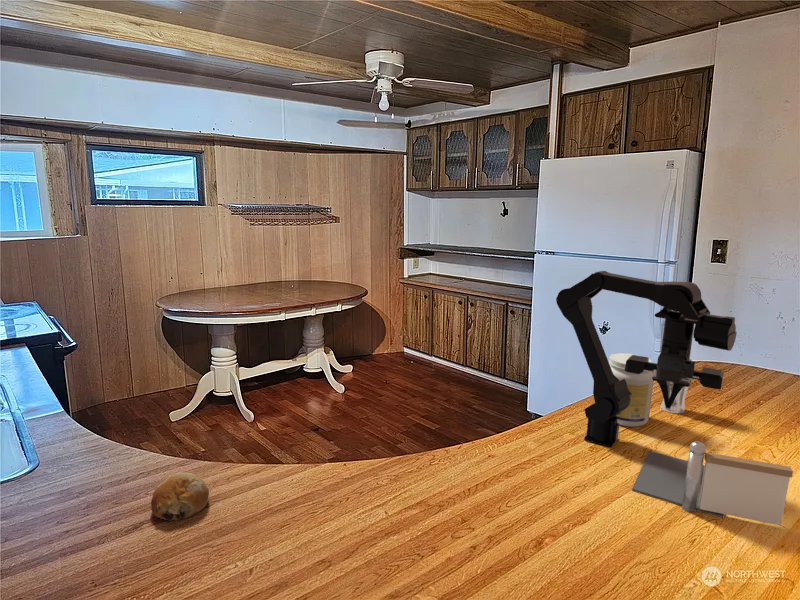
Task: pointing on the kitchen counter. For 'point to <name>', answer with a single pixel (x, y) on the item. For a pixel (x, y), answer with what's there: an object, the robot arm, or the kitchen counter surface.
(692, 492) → the gate post
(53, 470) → the kitchen counter surface
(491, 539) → the kitchen counter surface
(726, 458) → the panel
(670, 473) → the mat
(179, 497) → the bread roll
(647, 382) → the supplement tub
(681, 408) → the beer glass
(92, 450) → the kitchen counter surface
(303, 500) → the kitchen counter surface
